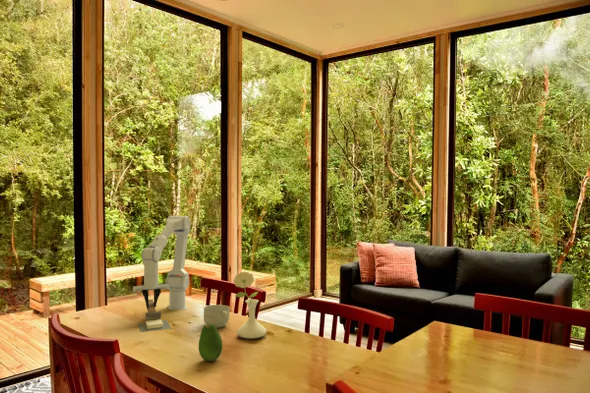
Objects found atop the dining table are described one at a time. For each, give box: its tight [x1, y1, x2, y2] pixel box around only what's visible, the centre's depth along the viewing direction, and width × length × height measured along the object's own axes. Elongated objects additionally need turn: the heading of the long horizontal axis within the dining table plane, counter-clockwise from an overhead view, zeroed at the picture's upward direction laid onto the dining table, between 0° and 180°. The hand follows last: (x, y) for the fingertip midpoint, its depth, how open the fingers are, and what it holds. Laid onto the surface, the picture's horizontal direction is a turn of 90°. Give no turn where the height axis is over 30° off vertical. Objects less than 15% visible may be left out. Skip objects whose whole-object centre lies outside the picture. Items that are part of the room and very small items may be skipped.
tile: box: [145, 318, 163, 329], centre depth 188 cm, size 2×6×7 cm
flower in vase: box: [233, 271, 267, 340], centre depth 177 cm, size 13×11×25 cm
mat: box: [136, 319, 173, 333], centre depth 188 cm, size 13×12×1 cm
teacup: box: [203, 304, 231, 329], centre depth 189 cm, size 14×11×8 cm
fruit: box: [198, 324, 223, 362], centre depth 151 cm, size 8×8×12 cm
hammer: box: [144, 299, 162, 322], centre depth 196 cm, size 13×6×4 cm, turn 24°
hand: (151, 307), depth 197 cm, fingers closed on hammer, 2 cm apart
